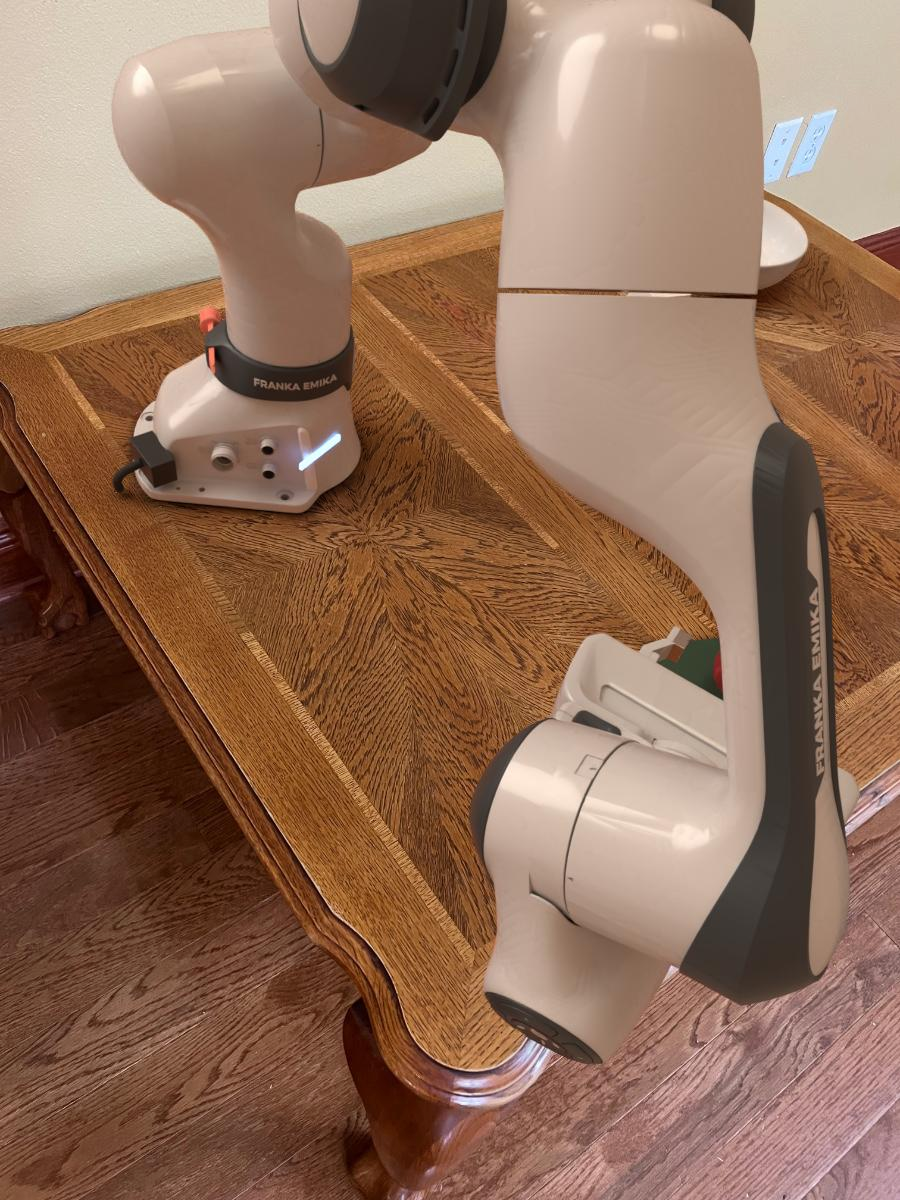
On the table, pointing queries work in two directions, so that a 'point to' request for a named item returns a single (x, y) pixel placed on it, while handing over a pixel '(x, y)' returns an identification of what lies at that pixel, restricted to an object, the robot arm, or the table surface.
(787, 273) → the serving bowl
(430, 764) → the table surface
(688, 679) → the dark green mat
